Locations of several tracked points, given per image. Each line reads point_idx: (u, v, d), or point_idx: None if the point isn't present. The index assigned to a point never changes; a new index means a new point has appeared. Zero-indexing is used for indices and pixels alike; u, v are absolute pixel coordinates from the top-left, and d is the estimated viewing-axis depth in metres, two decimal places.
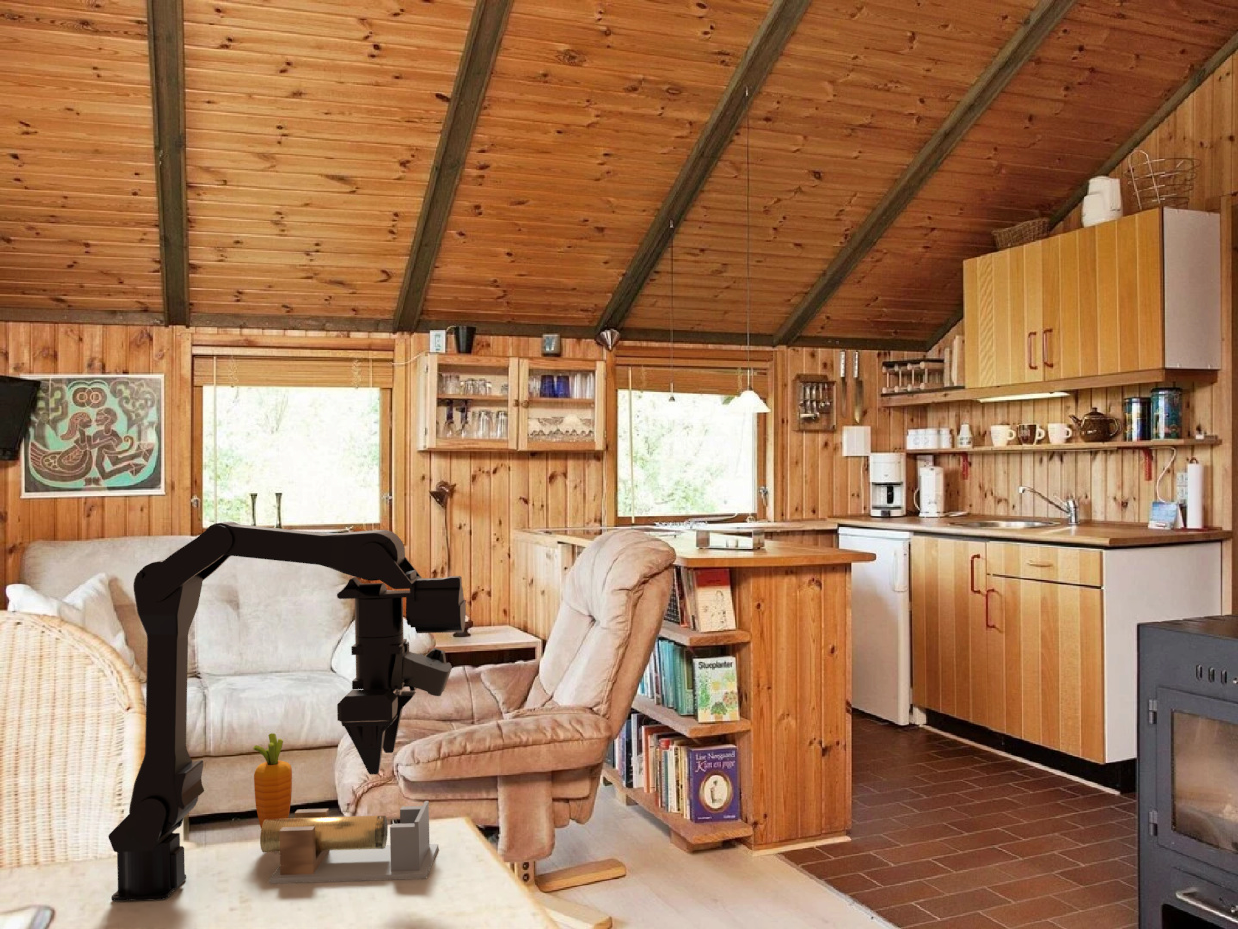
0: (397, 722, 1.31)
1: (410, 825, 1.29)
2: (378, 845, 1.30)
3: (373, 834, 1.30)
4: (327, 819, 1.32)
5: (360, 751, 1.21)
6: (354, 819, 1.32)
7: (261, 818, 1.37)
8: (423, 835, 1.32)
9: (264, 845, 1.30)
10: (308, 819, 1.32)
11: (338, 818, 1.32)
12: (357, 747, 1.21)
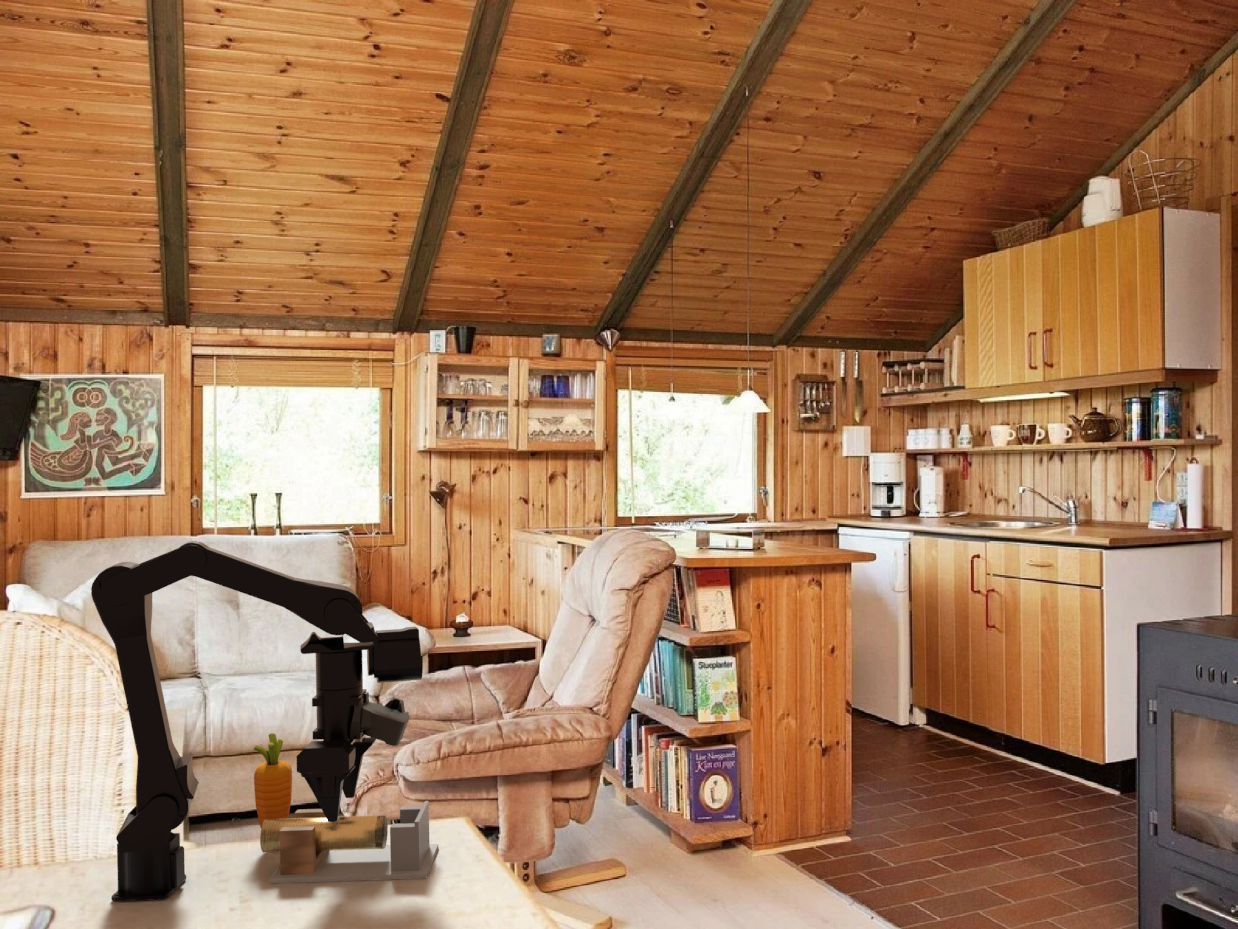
0: (358, 768, 1.37)
1: (410, 825, 1.29)
2: (378, 845, 1.30)
3: (373, 834, 1.30)
4: None
5: (319, 800, 1.26)
6: (354, 819, 1.32)
7: (261, 818, 1.37)
8: (423, 835, 1.32)
9: (264, 845, 1.30)
10: (308, 819, 1.32)
11: (338, 818, 1.32)
12: (316, 796, 1.26)
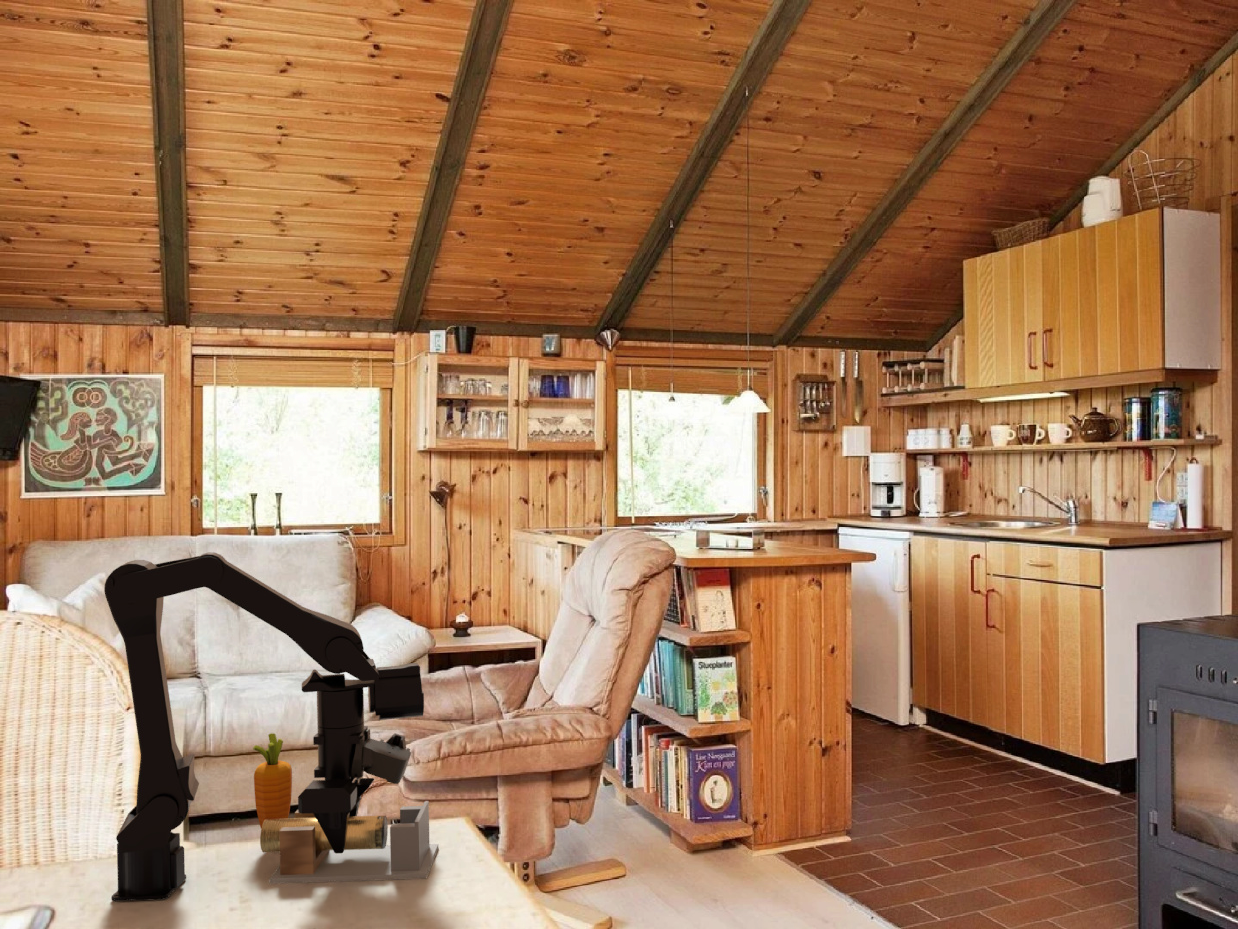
0: (355, 811, 1.34)
1: (410, 825, 1.29)
2: (378, 845, 1.30)
3: (373, 834, 1.30)
4: None
5: (326, 832, 1.29)
6: (354, 819, 1.32)
7: (261, 818, 1.37)
8: (423, 835, 1.32)
9: (264, 845, 1.30)
10: (308, 819, 1.32)
11: None
12: (323, 828, 1.29)
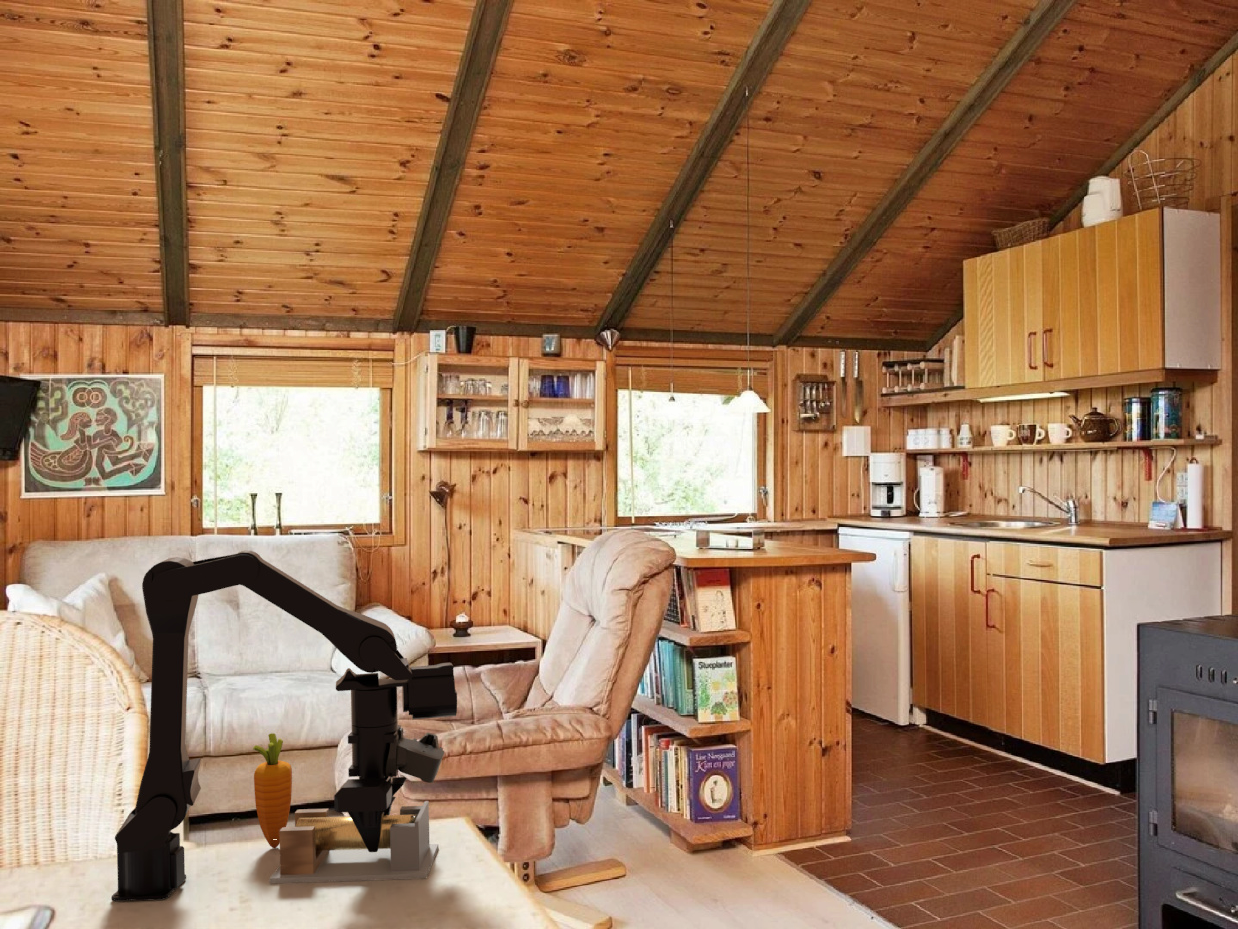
0: (388, 809, 1.34)
1: (410, 825, 1.29)
2: None
3: None
4: None
5: (360, 831, 1.29)
6: (388, 818, 1.32)
7: (261, 818, 1.37)
8: (423, 835, 1.32)
9: None
10: (342, 818, 1.32)
11: None
12: (358, 827, 1.29)
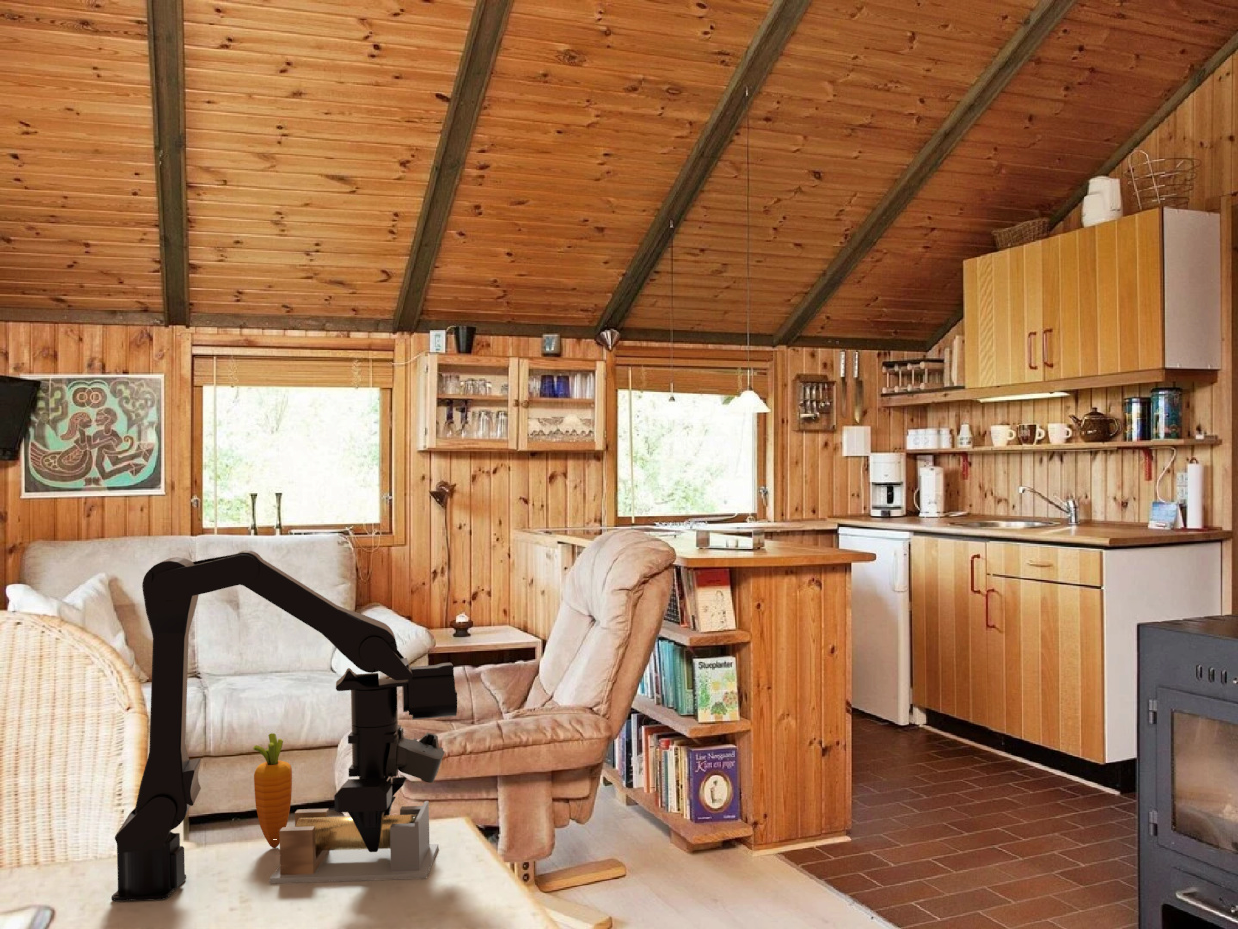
0: (388, 809, 1.34)
1: (410, 825, 1.29)
2: None
3: None
4: None
5: (360, 831, 1.29)
6: (388, 818, 1.32)
7: (261, 818, 1.37)
8: (423, 835, 1.32)
9: None
10: (342, 818, 1.32)
11: None
12: (358, 827, 1.29)
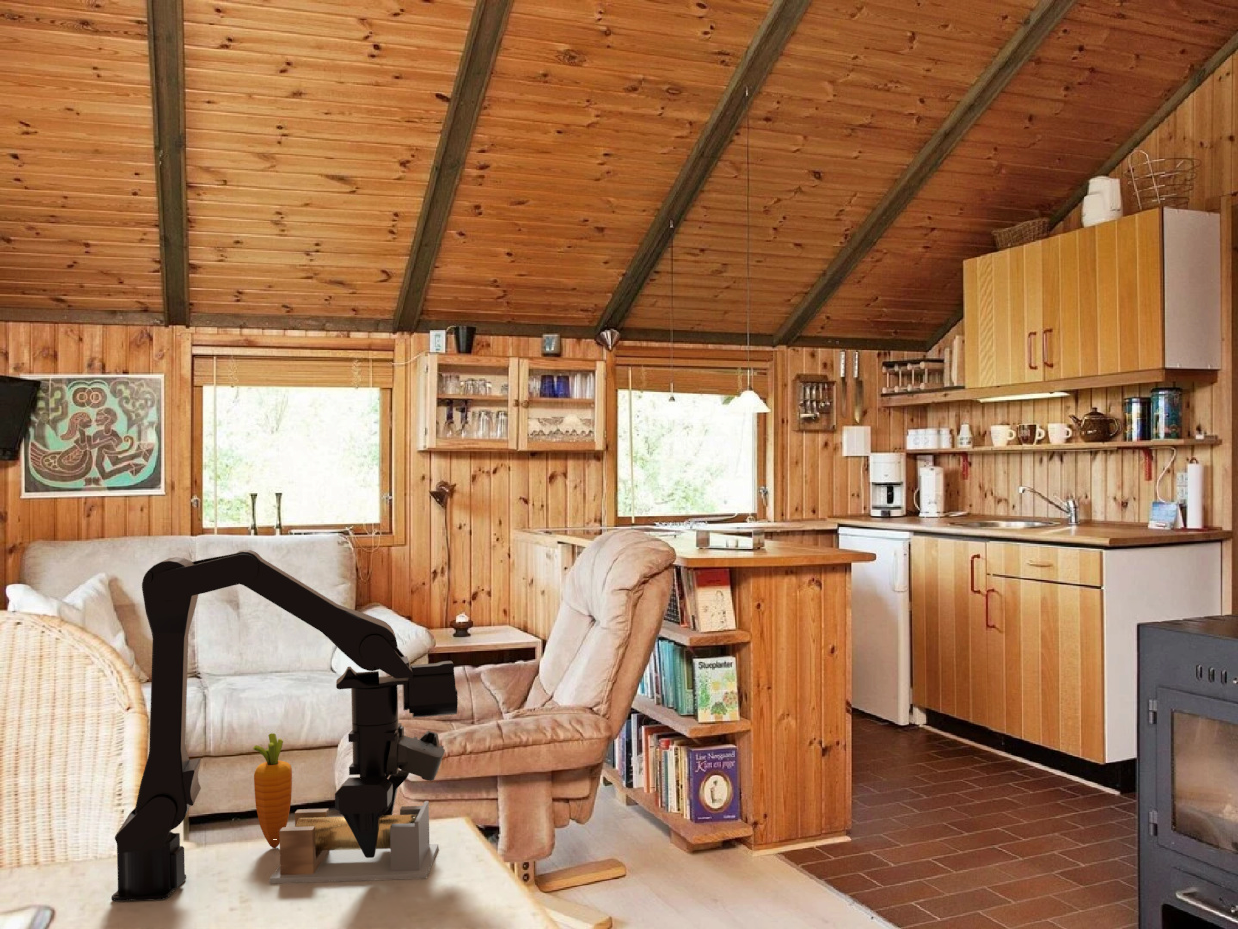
0: (392, 802, 1.37)
1: (410, 825, 1.29)
2: None
3: None
4: None
5: (357, 836, 1.26)
6: (388, 818, 1.32)
7: (261, 818, 1.37)
8: (423, 835, 1.32)
9: None
10: (342, 818, 1.32)
11: None
12: (354, 832, 1.26)
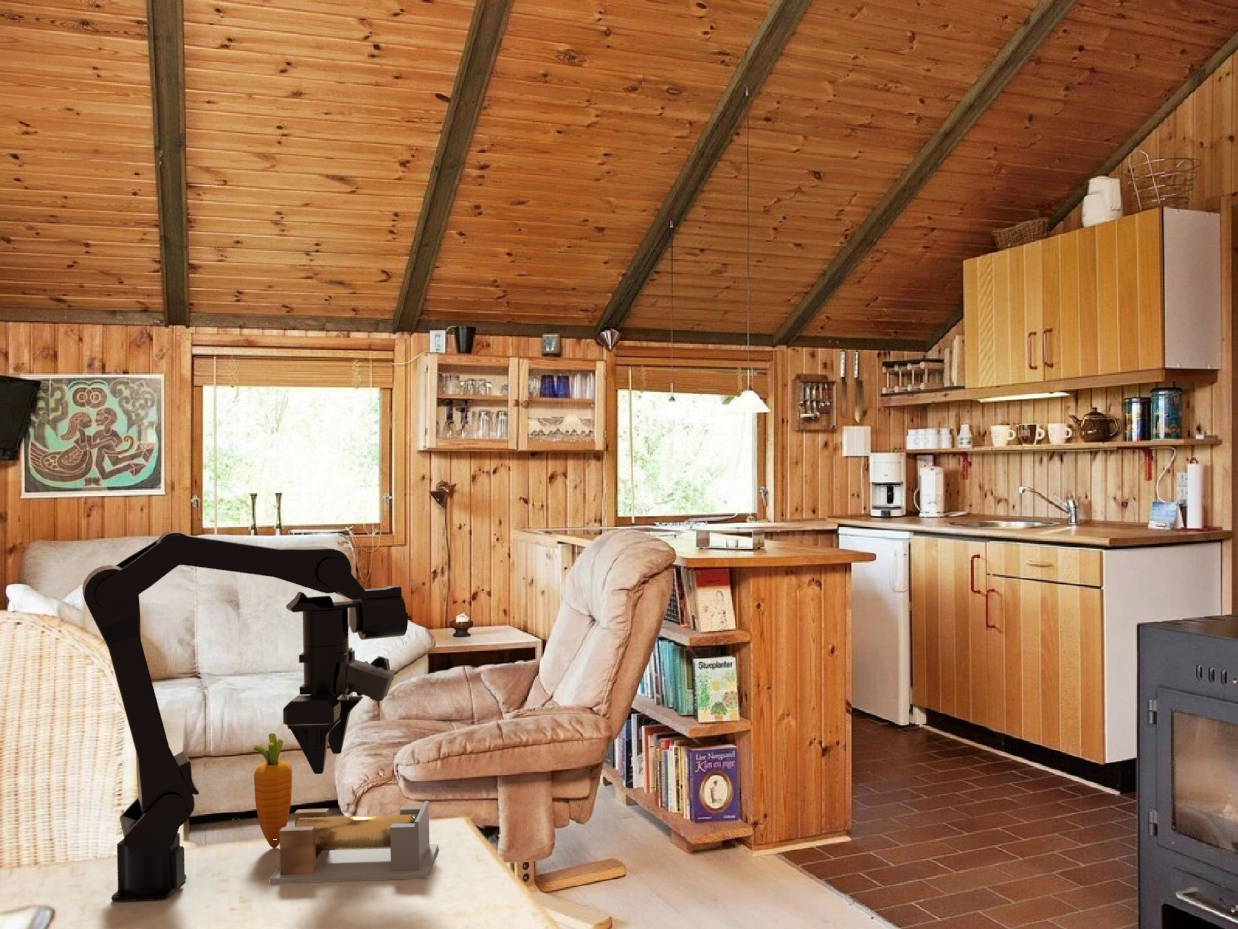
0: (344, 725, 1.41)
1: (410, 825, 1.29)
2: None
3: None
4: (361, 818, 1.32)
5: (305, 752, 1.30)
6: (388, 818, 1.32)
7: (261, 818, 1.37)
8: (423, 835, 1.32)
9: None
10: (342, 818, 1.32)
11: (372, 817, 1.32)
12: (303, 748, 1.30)
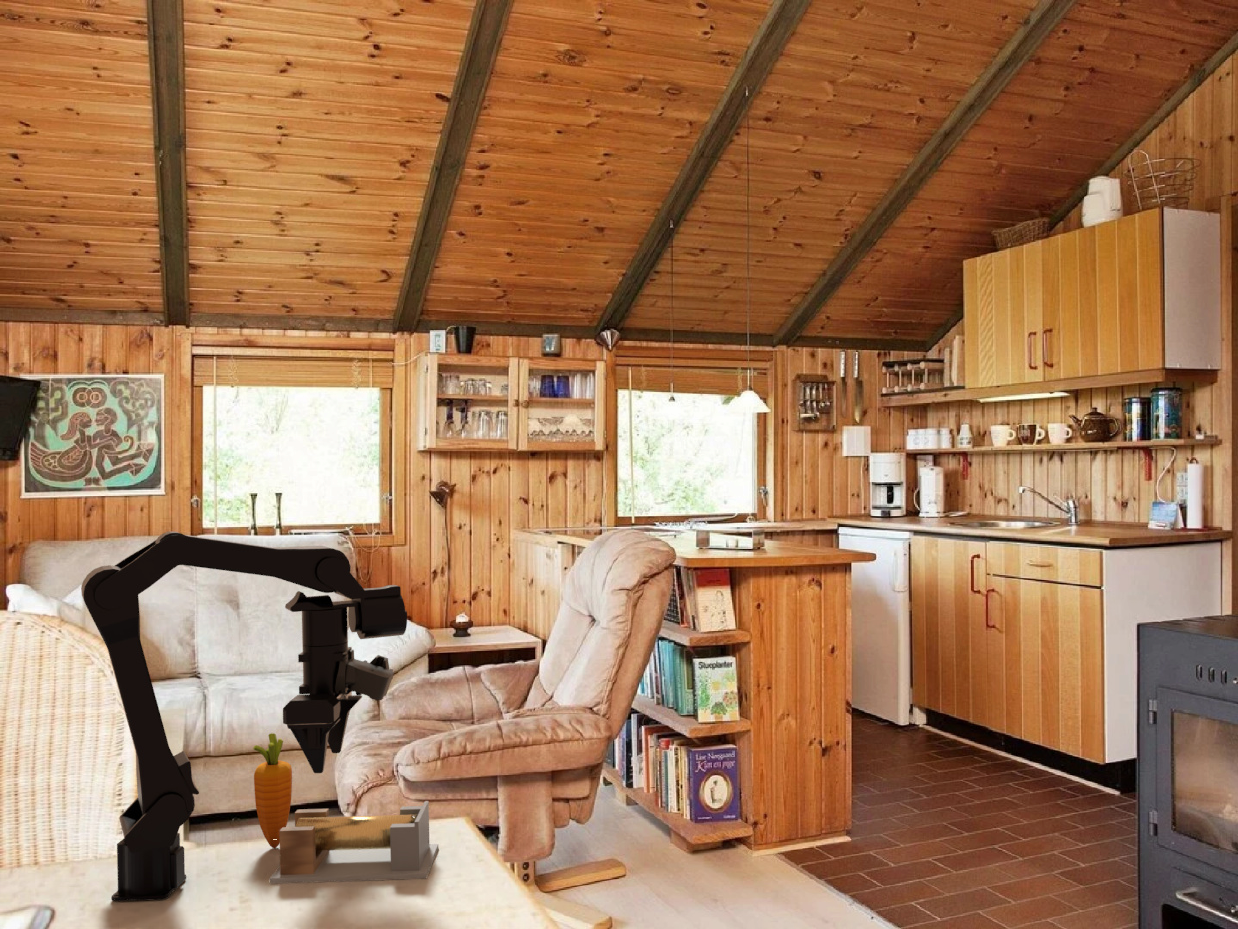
0: (344, 724, 1.41)
1: (410, 825, 1.29)
2: None
3: None
4: (361, 818, 1.32)
5: (305, 751, 1.30)
6: (388, 818, 1.32)
7: (261, 818, 1.37)
8: (423, 835, 1.32)
9: None
10: (342, 818, 1.32)
11: (372, 817, 1.32)
12: (302, 748, 1.30)
